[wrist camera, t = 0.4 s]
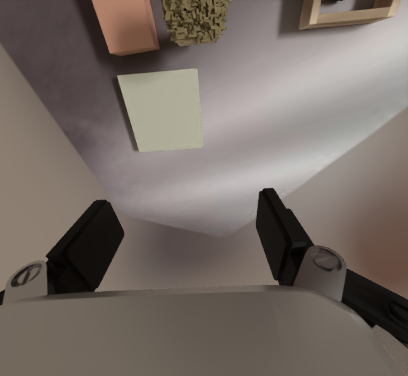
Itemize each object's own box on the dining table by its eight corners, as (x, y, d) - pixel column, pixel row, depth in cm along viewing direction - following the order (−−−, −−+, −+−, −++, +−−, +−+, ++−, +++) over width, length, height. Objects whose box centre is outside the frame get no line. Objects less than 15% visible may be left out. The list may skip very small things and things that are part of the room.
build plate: (121, 75, 31) (116, 75, 30) (197, 68, 31) (196, 68, 29) (142, 148, 39) (139, 152, 37) (203, 144, 38) (203, 147, 37)
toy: (181, 59, 30) (165, 46, 18) (174, 5, 26) (148, -60, 14) (223, 54, 30) (237, 38, 17) (222, -1, 26) (239, -74, 14)
